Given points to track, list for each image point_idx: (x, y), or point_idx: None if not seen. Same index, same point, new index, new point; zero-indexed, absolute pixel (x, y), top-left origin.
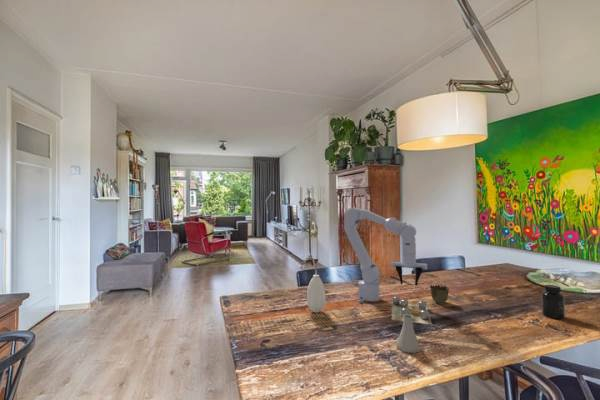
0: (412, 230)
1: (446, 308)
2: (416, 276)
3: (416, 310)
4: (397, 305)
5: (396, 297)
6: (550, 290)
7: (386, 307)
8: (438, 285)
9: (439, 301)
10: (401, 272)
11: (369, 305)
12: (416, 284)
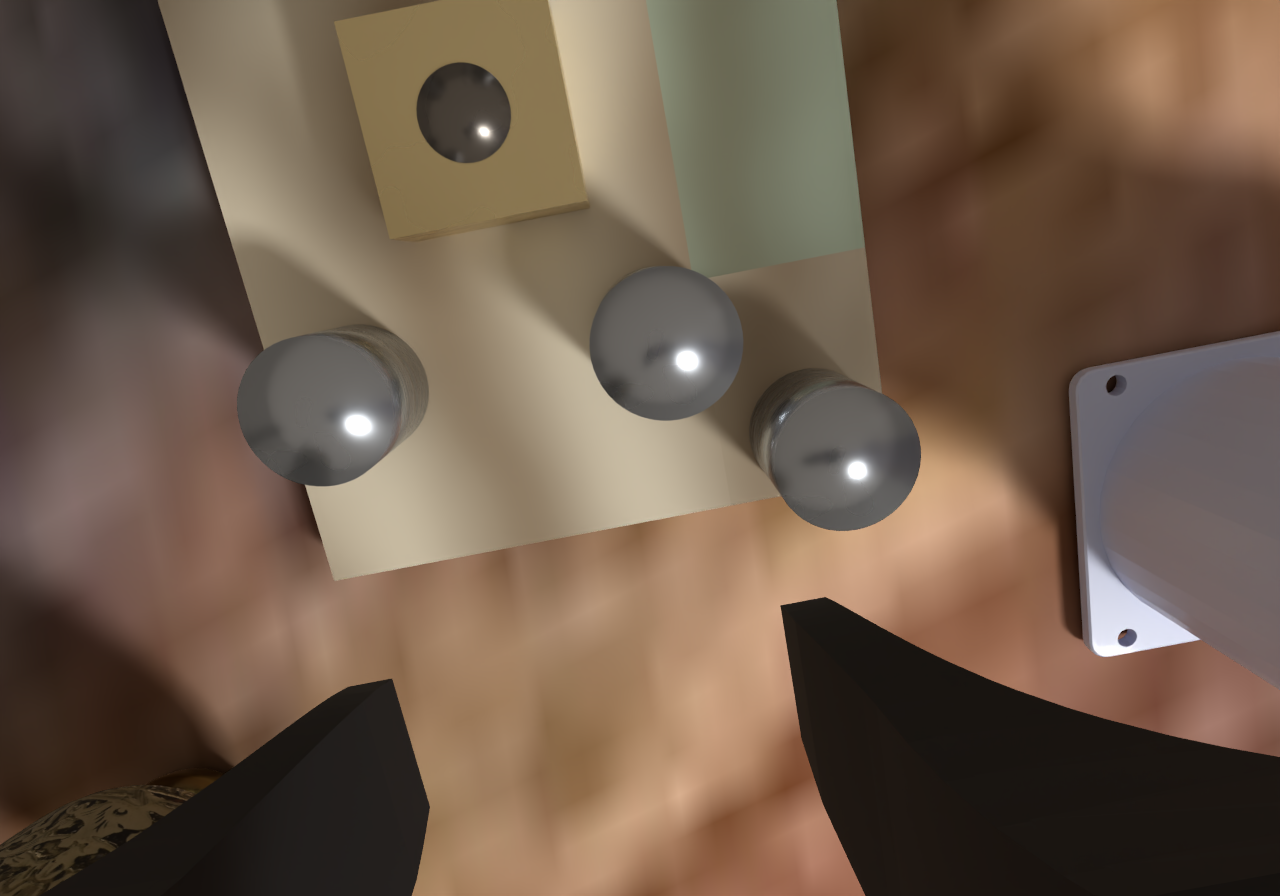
0: None
1: (88, 719)
2: (164, 874)
3: (377, 19)
4: (782, 367)
5: (840, 443)
6: None
7: (947, 314)
8: None
9: (135, 785)
10: (1021, 810)
11: (1233, 268)
12: (344, 696)
